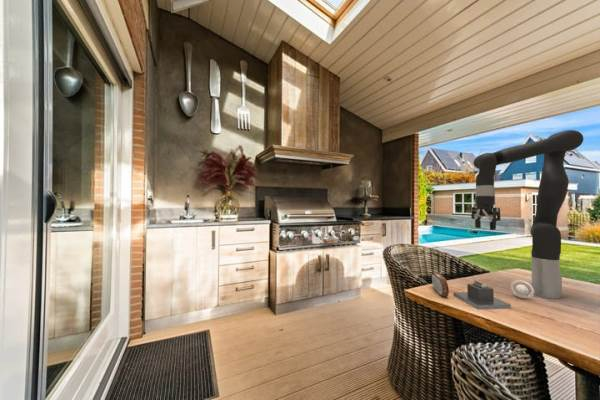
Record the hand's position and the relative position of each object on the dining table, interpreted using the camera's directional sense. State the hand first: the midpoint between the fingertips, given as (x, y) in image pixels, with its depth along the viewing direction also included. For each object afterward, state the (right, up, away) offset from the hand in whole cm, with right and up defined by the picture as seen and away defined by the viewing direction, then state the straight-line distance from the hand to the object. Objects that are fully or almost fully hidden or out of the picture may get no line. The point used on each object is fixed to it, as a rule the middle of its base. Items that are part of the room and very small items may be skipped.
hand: (485, 228), depth 117 cm
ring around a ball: (+10, -30, -9) cm, 33 cm away
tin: (-23, -30, -2) cm, 38 cm away
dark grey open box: (-11, -28, -12) cm, 33 cm away
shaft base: (-11, -30, -12) cm, 34 cm away
